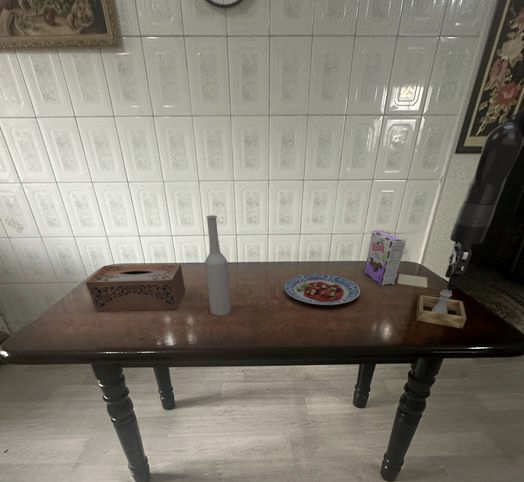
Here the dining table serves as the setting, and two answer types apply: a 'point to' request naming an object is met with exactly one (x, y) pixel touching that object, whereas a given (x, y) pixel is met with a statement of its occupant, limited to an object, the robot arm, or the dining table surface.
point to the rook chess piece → (442, 302)
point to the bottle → (217, 273)
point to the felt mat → (412, 280)
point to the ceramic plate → (322, 289)
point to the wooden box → (441, 318)
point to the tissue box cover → (137, 287)
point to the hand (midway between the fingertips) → (449, 282)
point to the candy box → (384, 257)
